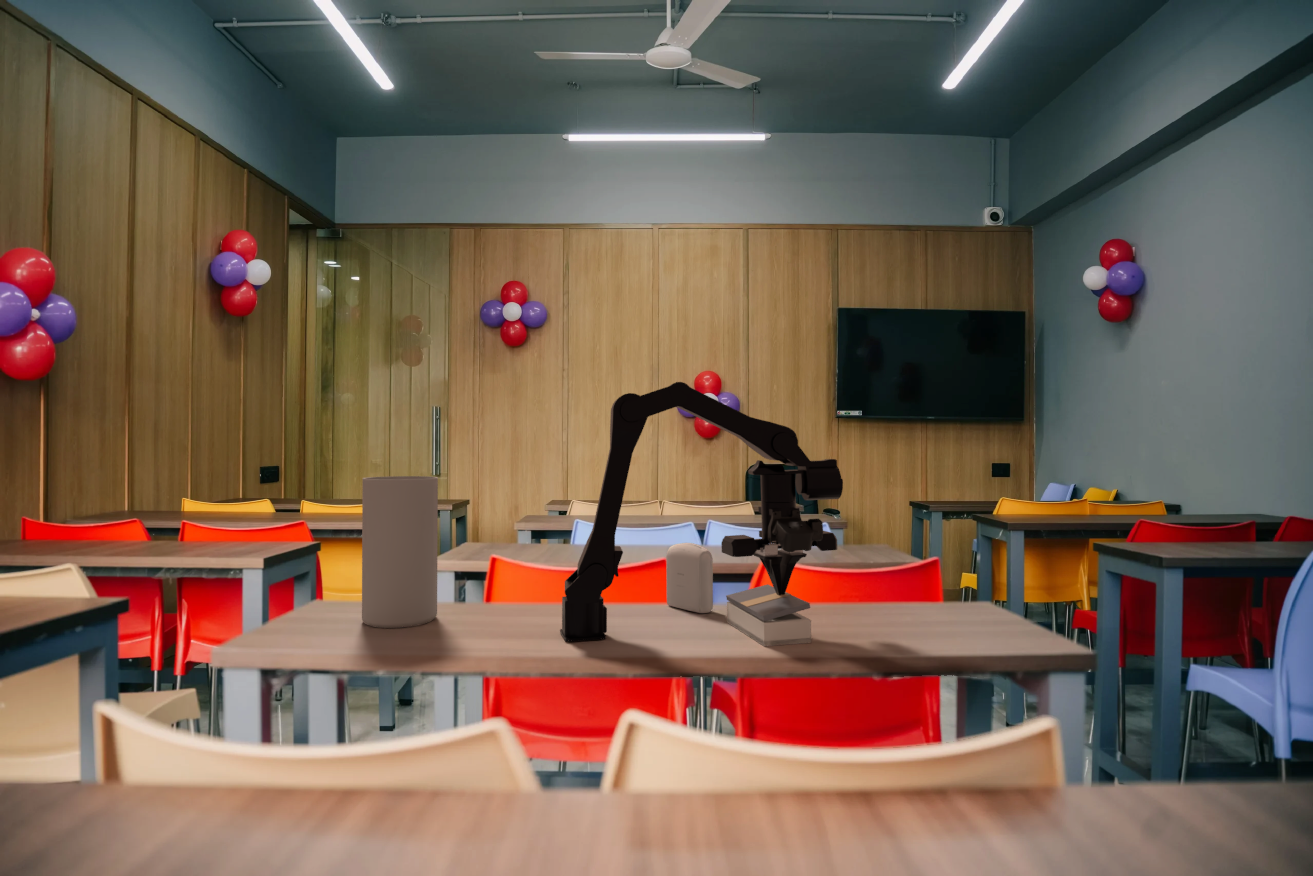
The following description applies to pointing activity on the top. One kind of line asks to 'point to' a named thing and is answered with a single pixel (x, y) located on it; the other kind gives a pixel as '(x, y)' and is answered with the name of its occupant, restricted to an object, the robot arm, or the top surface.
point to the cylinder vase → (399, 550)
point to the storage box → (770, 627)
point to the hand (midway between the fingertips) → (780, 594)
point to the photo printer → (690, 577)
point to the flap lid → (767, 602)
